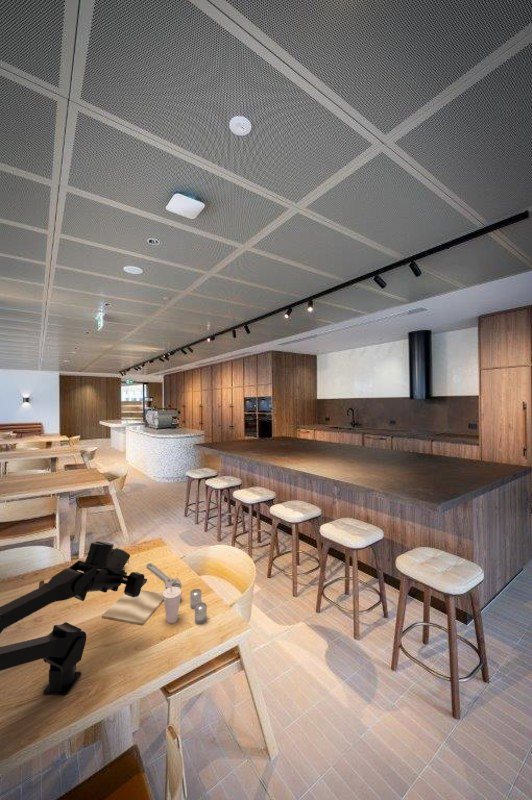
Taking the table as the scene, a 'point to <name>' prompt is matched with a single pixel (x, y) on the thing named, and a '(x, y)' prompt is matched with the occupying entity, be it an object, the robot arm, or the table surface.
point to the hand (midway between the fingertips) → (136, 577)
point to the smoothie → (171, 602)
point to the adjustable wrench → (163, 576)
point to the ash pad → (134, 607)
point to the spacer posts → (197, 605)
